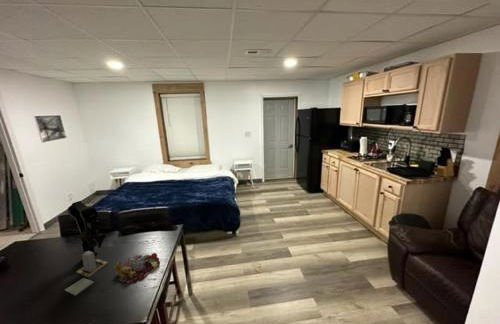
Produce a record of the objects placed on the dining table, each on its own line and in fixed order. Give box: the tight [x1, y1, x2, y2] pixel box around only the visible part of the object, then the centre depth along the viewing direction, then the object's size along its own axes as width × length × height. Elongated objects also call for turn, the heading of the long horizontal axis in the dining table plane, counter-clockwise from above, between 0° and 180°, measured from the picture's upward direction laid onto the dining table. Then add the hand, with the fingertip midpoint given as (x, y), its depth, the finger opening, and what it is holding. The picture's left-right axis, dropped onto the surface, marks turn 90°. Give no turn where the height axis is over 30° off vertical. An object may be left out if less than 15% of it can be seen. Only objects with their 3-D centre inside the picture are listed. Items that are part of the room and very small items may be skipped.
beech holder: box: [76, 258, 109, 278], centre depth 138 cm, size 12×13×1 cm
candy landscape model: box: [113, 252, 161, 284], centre depth 136 cm, size 25×24×9 cm
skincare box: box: [81, 251, 97, 273], centre depth 136 cm, size 6×4×12 cm
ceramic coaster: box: [64, 277, 95, 296], centre depth 123 cm, size 10×10×1 cm
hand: (95, 246), depth 141 cm, fingers open, 9 cm apart
